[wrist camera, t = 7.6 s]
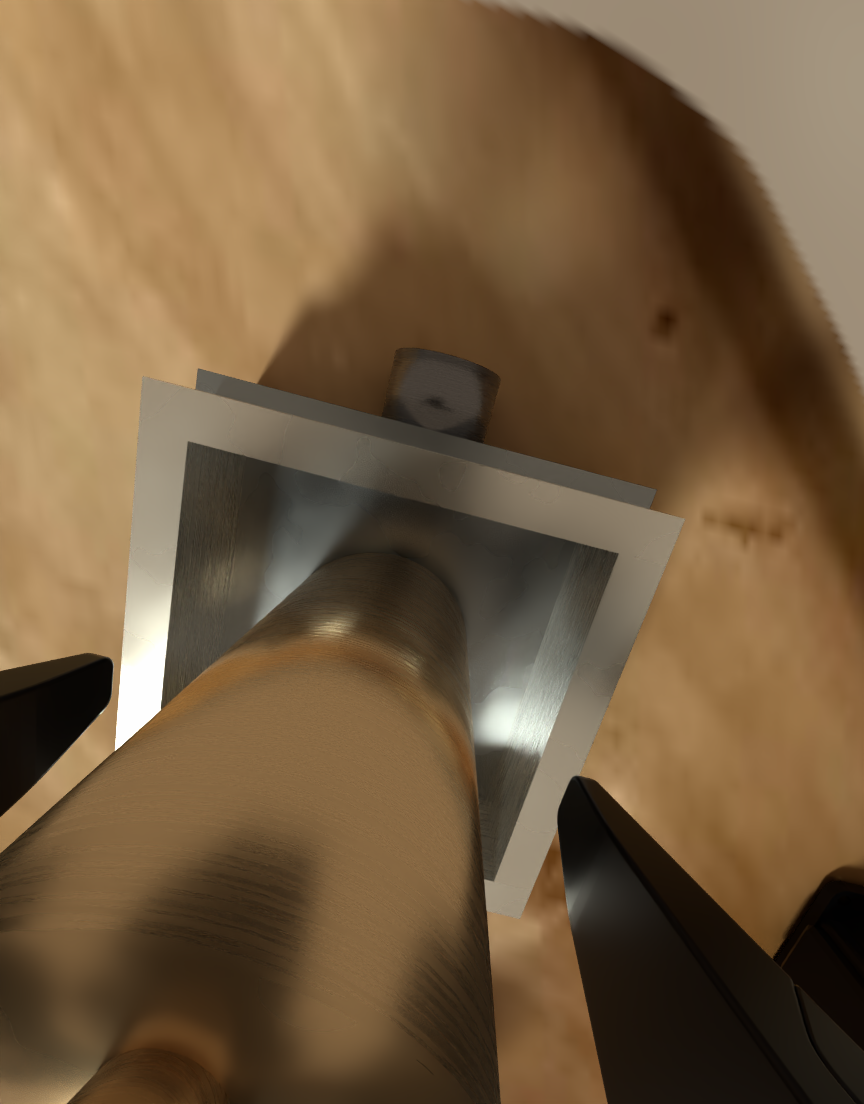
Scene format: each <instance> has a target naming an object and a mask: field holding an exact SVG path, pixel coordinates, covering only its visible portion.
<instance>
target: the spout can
mask: <svg viewBox="0 0 864 1104" xmlns="http://www.w3.org/2000/svg"><path fill="white" fill-rule="evenodd" d="M0 1104H501V1100H500V1087H499V1073H498V1060H497V1046H496V1032H495V1019H494V1005H493V992H492V978H491V965H490V951H489V937H488V924H487V910H486V897H485V883H484V870H483V856H482V842H481V829H480V815H479V802H478V788H477V775H476V761H475V747H474V734H473V720H472V707H471V693H470V680H469V666H468V652H467V639H466V628H465V623H464V619H463V616H462V613H461V610H460V608H459V605H458V604H457V602H456V600H455V598H454V596H453V595H452V594H451V592H450V591H449V590H448V588H447V587H446V586H445V585H444V584H443V583H442V582H441V581H440V579H439V578H438V577H436V576H435V575H434V574H433V573H431V572H430V571H429V570H427V569H426V568H424V567H422V566H421V565H419V564H417V563H415V562H413V561H411V560H409V559H406V558H403V557H400V556H396V555H392V554H387V553H378V552H365V553H356V554H351V555H347V556H343V557H341V558H338V559H335V560H333V561H331V562H329V563H327V564H325V565H323V566H322V567H321V568H319V569H318V570H317V571H315V572H314V573H313V574H312V575H311V576H309V577H308V578H307V579H306V580H305V581H304V582H303V583H302V584H300V585H299V586H298V587H297V588H296V589H295V590H294V591H293V592H292V593H290V594H289V595H288V596H287V597H286V598H285V599H284V600H283V601H282V602H280V603H279V604H278V605H277V606H276V607H275V608H274V609H273V610H271V611H270V612H269V613H268V614H267V615H266V616H265V617H264V618H263V619H261V620H260V621H259V622H258V623H257V624H256V625H255V626H254V627H253V628H251V629H250V630H249V631H248V632H247V633H246V634H245V635H244V636H242V637H241V638H240V639H239V640H238V641H237V642H236V643H235V644H234V645H232V646H231V647H230V648H229V649H228V650H227V651H226V652H225V653H224V654H222V655H221V656H220V657H219V658H218V659H217V660H216V661H215V662H213V663H212V664H211V665H210V666H209V667H208V668H207V669H206V670H205V671H203V672H202V673H201V674H200V675H199V676H198V677H197V678H196V679H195V680H193V681H192V682H191V683H190V684H189V685H188V686H187V687H186V688H184V689H183V690H182V691H181V692H180V693H179V694H178V695H177V696H176V697H174V698H173V699H172V700H171V701H170V702H169V703H168V704H167V705H166V706H164V707H163V708H162V709H161V710H160V711H159V712H158V713H157V714H155V715H154V716H153V717H152V718H151V719H150V720H149V721H148V722H147V723H145V724H144V725H143V726H142V727H141V728H140V729H139V730H138V731H137V732H135V733H134V734H133V735H132V736H131V737H130V738H129V739H128V740H126V741H125V742H124V743H123V744H122V745H121V746H120V747H119V748H118V749H116V750H115V751H114V752H113V753H112V754H111V755H110V756H109V757H107V758H106V759H105V760H104V761H103V762H102V763H101V764H100V765H99V766H97V767H96V768H95V769H94V770H93V771H92V772H91V773H90V774H89V775H87V776H86V777H85V778H84V779H83V780H82V781H81V782H80V783H78V784H77V785H76V786H75V787H74V788H73V789H72V790H71V791H70V792H68V793H67V794H66V795H65V796H64V797H63V798H62V799H61V800H60V801H58V802H57V803H56V804H55V805H54V806H53V807H52V808H51V809H49V810H48V811H47V812H46V813H45V814H44V815H43V816H42V817H41V818H39V819H38V820H37V821H36V822H35V823H34V824H33V825H32V826H31V827H29V828H28V829H27V830H26V831H25V832H24V833H23V834H22V835H20V836H19V837H18V838H17V839H16V840H15V841H14V842H13V843H12V844H10V845H9V846H8V847H7V848H6V849H5V850H4V851H3V852H2V853H0Z"/></svg>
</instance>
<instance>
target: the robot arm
mask: <svg viewBox="0 0 864 1104" xmlns="http://www.w3.org/2000/svg"><path fill="white" fill-rule="evenodd" d="M113 668H114V664H113V661H112V660H111V659H110V658H108V657H105V656H101V655H97V654H93V653H84V654H80V655H75V656H70V657H65V658H60V659H56V660H51V661H46V662H41V663H37V664H32V665H27V666H22V667H17V668H13V669H8V670H3V671H0V817H1V816H2V815H3V814H4V813H5V812H6V811H8V810H9V809H10V808H11V807H12V806H13V805H14V804H15V803H16V802H17V801H18V800H19V799H20V798H21V797H23V796H24V795H25V794H26V793H27V792H28V791H29V790H30V789H31V788H32V787H33V786H34V785H35V784H36V783H37V782H38V781H39V780H40V779H41V778H42V777H43V776H44V775H45V774H46V773H47V772H48V770H49V769H50V768H51V767H52V766H53V765H54V764H55V763H56V762H57V761H58V760H59V759H60V757H61V756H62V755H63V754H64V753H65V752H66V751H67V750H68V749H69V748H70V747H71V746H72V744H73V743H74V742H75V741H76V740H77V739H78V738H79V737H80V736H81V735H82V734H83V732H84V731H85V730H86V729H87V728H88V727H89V726H90V725H91V724H92V723H93V722H94V721H95V719H96V718H97V717H98V716H99V715H100V714H101V713H102V712H103V711H104V709H105V708H106V707H107V705H108V704H109V702H110V699H111V695H112V683H113ZM557 825H558V834H559V842H560V851H561V859H562V867H563V876H564V884H565V893H566V901H567V908H568V915H569V920H570V925H571V931H572V936H573V940H574V945H575V950H576V955H577V959H578V964H579V969H580V974H581V978H582V983H583V988H584V993H585V998H586V1002H587V1007H588V1012H589V1017H590V1021H591V1026H592V1031H593V1036H594V1040H595V1045H596V1050H597V1055H598V1059H599V1064H600V1069H601V1074H602V1078H603V1083H604V1088H605V1093H606V1098H607V1102H608V1104H864V887H863V886H859V885H855V884H851V883H847V882H843V881H832V882H830V883H828V884H826V885H825V886H824V887H823V889H822V890H821V892H820V894H819V895H818V897H817V898H816V900H815V901H814V903H813V904H812V906H811V907H810V909H809V911H808V912H807V914H806V915H805V917H804V918H803V920H802V921H801V923H800V925H799V926H798V928H797V929H796V931H795V932H794V934H793V935H792V937H791V938H790V940H789V942H788V943H787V945H786V946H785V948H784V949H783V951H782V952H781V954H780V955H779V957H778V959H777V960H776V962H775V961H774V960H773V959H772V958H771V957H770V956H769V955H768V954H767V953H766V952H765V951H764V950H763V949H762V948H761V947H760V946H759V945H758V944H757V943H756V942H755V941H754V940H753V939H752V938H751V937H750V936H749V935H748V934H747V933H746V932H745V931H744V930H743V929H742V928H741V927H740V926H739V925H738V924H737V923H736V922H735V921H734V920H733V919H732V918H731V917H730V916H729V915H728V914H727V913H726V912H725V911H724V910H723V909H722V908H721V907H720V906H719V905H718V904H717V903H716V902H715V901H714V900H713V899H712V898H711V897H710V896H709V895H708V894H707V893H706V892H705V891H704V890H703V889H702V888H701V886H700V885H699V884H698V883H697V882H696V881H695V880H694V879H693V878H692V877H691V876H690V875H689V874H688V873H687V872H686V871H685V870H684V869H683V868H682V867H681V866H680V865H679V864H678V863H677V862H676V861H675V860H674V859H673V858H672V857H671V856H670V855H669V854H668V853H667V852H666V851H665V850H664V849H663V848H662V847H661V846H660V845H659V844H658V843H657V842H656V841H655V840H654V839H653V838H652V837H651V836H650V835H649V834H648V833H647V832H646V831H645V830H644V829H643V828H642V827H641V826H640V825H639V824H638V823H637V822H636V821H635V820H634V819H633V818H632V817H631V816H630V815H629V814H628V813H627V812H626V811H625V810H624V809H623V808H622V807H621V806H620V805H619V804H618V803H617V801H616V800H615V799H614V798H613V797H612V796H611V795H610V794H609V793H608V792H607V791H606V790H605V789H604V788H603V787H602V786H601V785H600V784H599V783H598V782H597V781H595V780H593V779H590V778H586V777H582V776H578V775H576V776H573V777H572V778H571V779H570V781H569V783H568V786H567V788H566V791H565V793H564V795H563V798H562V800H561V803H560V805H559V808H558V812H557Z"/></svg>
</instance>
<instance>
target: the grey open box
mask: <svg viewBox="0 0 864 1104" xmlns="http://www.w3.org/2000/svg"><path fill="white" fill-rule="evenodd" d="M500 381H501V379H500V377H499V376H498V375H497V374H495V373H494V372H492V371H490V370H489V369H487V368H484V367H482V366H480V365H478V364H475V363H473V362H470V361H467V360H464V359H461V358H458V357H455V356H451V355H448V354H444V353H440V352H435V351H430V350H424V349H417V348H400V349H397V350H396V352H395V357H394V361H393V366H392V371H391V375H390V380H389V385H388V389H387V394H386V399H385V404H384V408H383V413H382V417H380V416H376V415H372V414H369V413H365V412H361V411H357V410H353V409H350V408H346V407H342V406H338V405H334V404H331V403H327V402H323V401H319V400H316V399H312V398H308V397H304V396H300V395H297V394H293V393H289V392H285V391H281V390H278V389H274V388H270V387H266V386H263V385H259V384H255V383H251V382H247V381H244V380H240V379H236V378H232V377H228V376H225V375H221V374H217V373H213V372H210V371H206V370H202V369H198V372H197V381H196V389H192V388H188V387H184V386H180V385H176V384H172V383H168V382H164V381H160V380H156V379H152V378H148V377H144V376H143V377H142V391H141V404H140V418H139V432H138V445H137V459H136V473H135V486H134V500H133V513H132V527H131V541H130V554H129V568H128V581H127V595H126V609H125V622H124V636H123V649H122V663H121V677H120V690H119V704H118V718H117V731H116V745H115V750H116V749H118V748H119V747H120V746H121V745H122V744H123V743H124V742H125V741H126V740H128V739H129V738H130V737H131V736H132V735H133V734H134V733H135V732H137V731H138V730H139V729H140V728H141V727H142V726H143V725H144V724H145V723H147V722H148V721H149V720H150V719H151V718H152V717H153V716H154V715H155V714H157V713H158V712H159V711H160V710H161V709H162V708H163V707H164V706H166V705H167V704H168V703H169V702H170V701H171V700H172V699H173V698H174V697H176V696H177V695H178V694H179V693H180V692H181V691H182V690H183V689H184V688H186V687H187V686H188V685H189V684H190V683H191V682H192V681H193V680H195V679H196V678H197V677H198V676H199V675H200V674H201V673H202V672H203V671H205V670H206V669H207V668H208V667H209V666H210V665H211V664H212V663H213V662H215V661H216V660H217V659H218V658H219V657H220V656H221V655H222V654H224V653H225V652H226V651H227V650H228V649H229V648H230V647H231V646H232V645H234V644H235V643H236V642H237V641H238V640H239V639H240V638H241V637H242V636H244V635H245V634H246V633H247V632H248V631H249V630H250V629H251V628H253V627H254V626H255V625H256V624H257V623H258V622H259V621H260V620H261V619H263V618H264V617H265V616H266V615H267V614H268V613H269V612H270V611H271V610H273V609H274V608H275V607H276V606H277V605H278V604H279V603H280V602H282V601H283V600H284V599H285V598H286V597H287V596H288V595H289V594H290V593H292V592H293V591H294V590H295V589H296V588H297V587H298V586H299V585H300V584H302V583H303V582H304V581H305V580H306V579H307V578H308V577H309V576H311V575H312V574H313V573H314V572H315V571H317V570H318V569H319V568H321V567H322V566H323V565H325V564H327V563H329V562H331V561H333V560H335V559H338V558H341V557H343V556H347V555H351V554H356V553H365V552H378V553H387V554H392V555H396V556H400V557H403V558H406V559H409V560H411V561H413V562H415V563H417V564H419V565H421V566H422V567H424V568H426V569H427V570H429V571H430V572H431V573H433V574H434V575H435V576H436V577H438V578H439V579H440V581H441V582H442V583H443V584H444V585H445V586H446V587H447V588H448V590H449V591H450V592H451V594H452V595H453V596H454V598H455V600H456V602H457V604H458V605H459V608H460V610H461V613H462V616H463V619H464V623H465V628H466V639H467V652H468V666H469V680H470V693H471V707H472V720H473V734H474V747H475V761H476V775H477V788H478V802H479V815H480V829H481V842H482V856H483V870H484V883H485V897H486V910H487V911H489V912H493V913H497V914H502V915H506V916H510V917H514V918H518V919H520V917H521V915H522V912H523V910H524V908H525V905H526V903H527V900H528V898H529V895H530V893H531V891H532V888H533V886H534V883H535V881H536V879H537V876H538V874H539V871H540V869H541V866H542V864H543V862H544V859H545V857H546V854H547V852H548V850H549V847H550V845H551V842H552V840H553V838H554V835H555V833H556V830H557V828H558V825H557V812H558V808H559V805H560V803H561V800H562V798H563V795H564V793H565V791H566V788H567V786H568V783H569V781H570V779H571V778H572V777H573V776H576V775H578V776H579V775H580V772H581V770H582V767H583V765H584V763H585V760H586V758H587V755H588V753H589V751H590V748H591V746H592V743H593V741H594V738H595V736H596V734H597V731H598V729H599V726H600V724H601V722H602V719H603V717H604V714H605V712H606V709H607V707H608V705H609V702H610V700H611V697H612V695H613V693H614V690H615V688H616V685H617V683H618V680H619V678H620V676H621V673H622V671H623V668H624V666H625V664H626V661H627V659H628V656H629V654H630V652H631V649H632V647H633V644H634V642H635V639H636V637H637V635H638V632H639V630H640V627H641V625H642V623H643V620H644V618H645V615H646V613H647V610H648V608H649V606H650V603H651V601H652V598H653V596H654V594H655V591H656V589H657V586H658V584H659V581H660V579H661V577H662V574H663V572H664V569H665V567H666V565H667V562H668V560H669V557H670V555H671V552H672V550H673V548H674V545H675V543H676V540H677V538H678V536H679V533H680V531H681V528H682V526H683V523H684V521H685V519H684V518H680V517H677V516H673V515H670V514H666V513H662V512H659V511H655V510H652V509H650V506H651V504H652V501H653V499H654V496H655V494H656V491H657V490H656V489H652V488H649V487H645V486H641V485H637V484H633V483H630V482H626V481H622V480H618V479H615V478H611V477H607V476H603V475H599V474H596V473H592V472H588V471H584V470H581V469H577V468H573V467H569V466H565V465H562V464H558V463H554V462H550V461H546V460H543V459H539V458H535V457H531V456H528V455H524V454H520V453H516V452H512V451H509V450H505V449H501V448H497V447H493V446H490V445H486V444H483V442H484V439H485V435H486V431H487V428H488V424H489V420H490V417H491V413H492V410H493V406H494V402H495V399H496V395H497V392H498V388H499V384H500Z"/></svg>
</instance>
